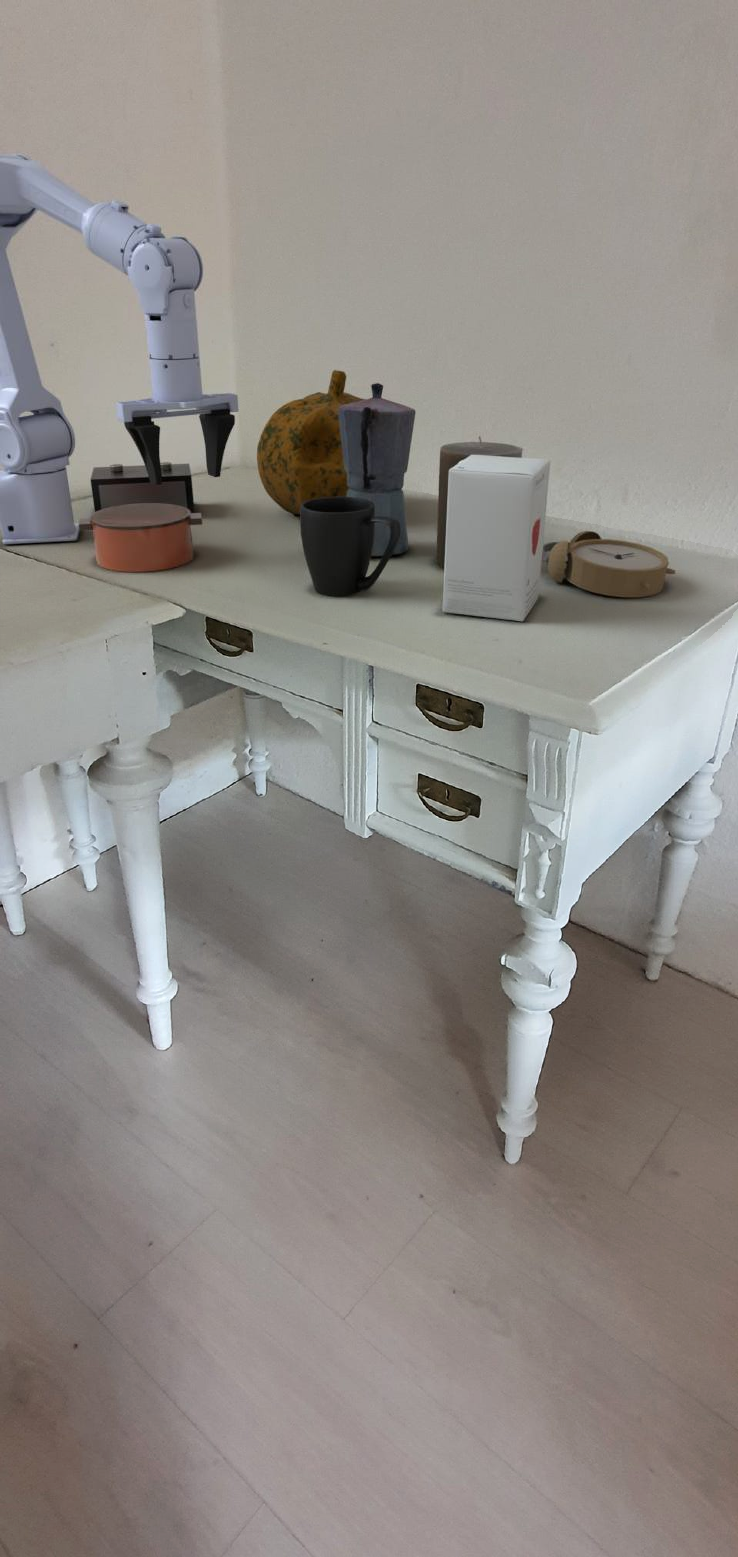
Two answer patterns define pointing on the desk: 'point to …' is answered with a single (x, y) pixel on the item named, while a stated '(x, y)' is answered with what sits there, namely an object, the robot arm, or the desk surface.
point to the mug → (342, 543)
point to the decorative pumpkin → (305, 448)
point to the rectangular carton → (495, 536)
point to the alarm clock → (607, 565)
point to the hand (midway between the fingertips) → (185, 479)
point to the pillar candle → (448, 459)
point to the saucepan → (142, 536)
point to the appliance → (141, 486)
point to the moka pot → (378, 459)
